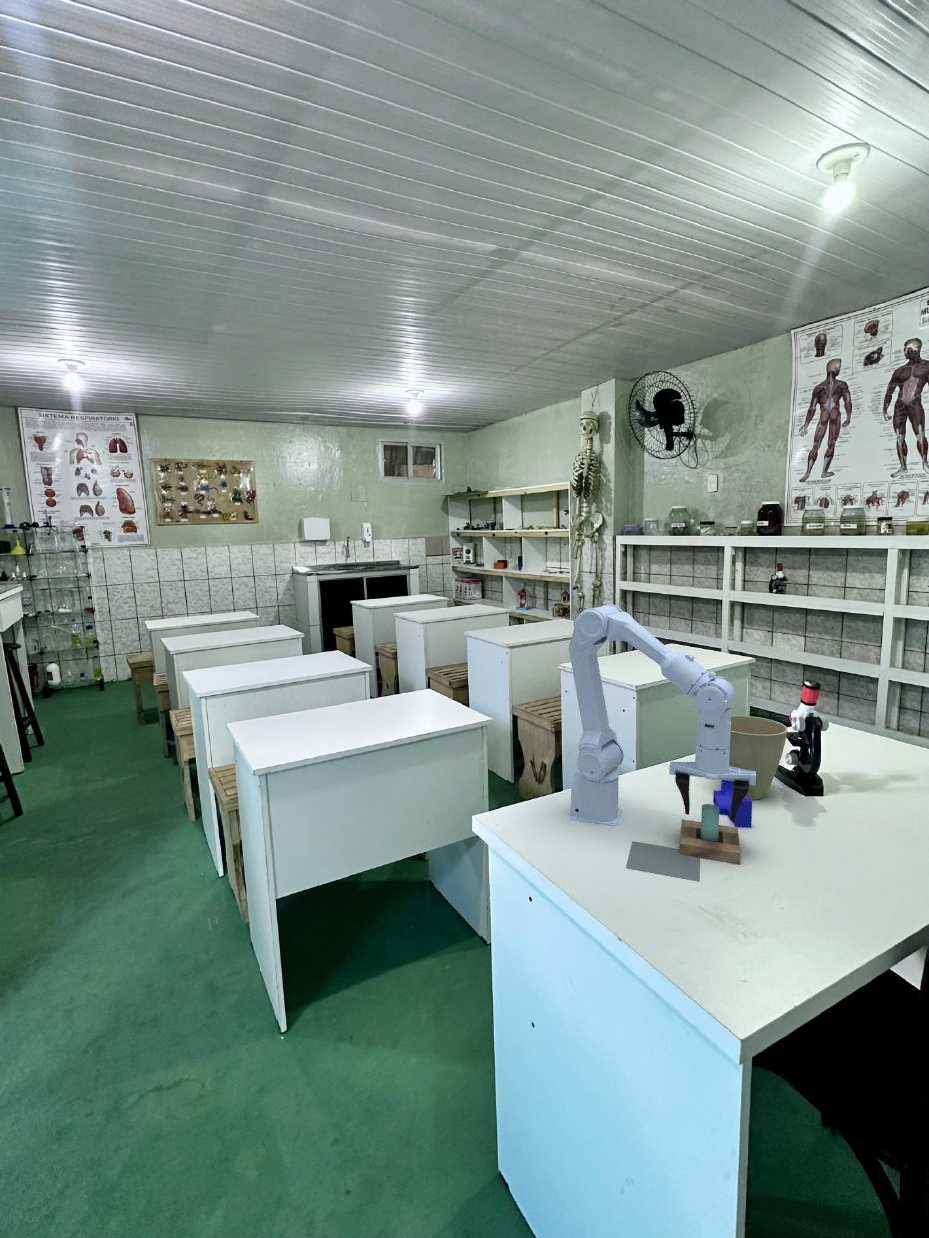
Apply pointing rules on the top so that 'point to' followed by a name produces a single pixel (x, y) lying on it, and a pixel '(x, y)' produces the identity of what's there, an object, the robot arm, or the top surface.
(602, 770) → the robot arm
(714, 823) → the peg
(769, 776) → the plant pot
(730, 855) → the socket block
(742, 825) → the cable clip
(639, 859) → the mat
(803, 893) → the top surface
